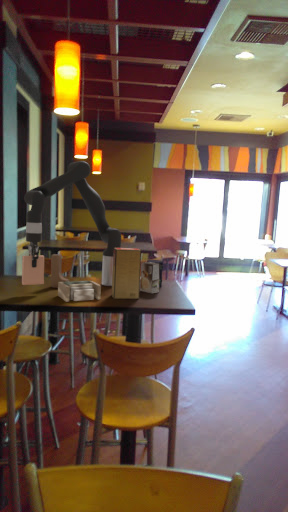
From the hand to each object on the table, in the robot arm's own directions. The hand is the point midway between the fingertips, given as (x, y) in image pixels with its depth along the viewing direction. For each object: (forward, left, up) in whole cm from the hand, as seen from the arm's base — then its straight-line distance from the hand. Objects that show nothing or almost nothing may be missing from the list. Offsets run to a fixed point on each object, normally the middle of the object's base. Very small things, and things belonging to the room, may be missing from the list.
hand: (33, 266), depth 195 cm
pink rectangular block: (0, 0, -9) cm, 9 cm away
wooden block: (-18, -14, -14) cm, 27 cm away
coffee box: (-62, +9, -14) cm, 64 cm away
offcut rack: (-20, +12, -14) cm, 27 cm away
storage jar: (-73, -5, -14) cm, 75 cm away
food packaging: (-43, +17, -14) cm, 48 cm away
